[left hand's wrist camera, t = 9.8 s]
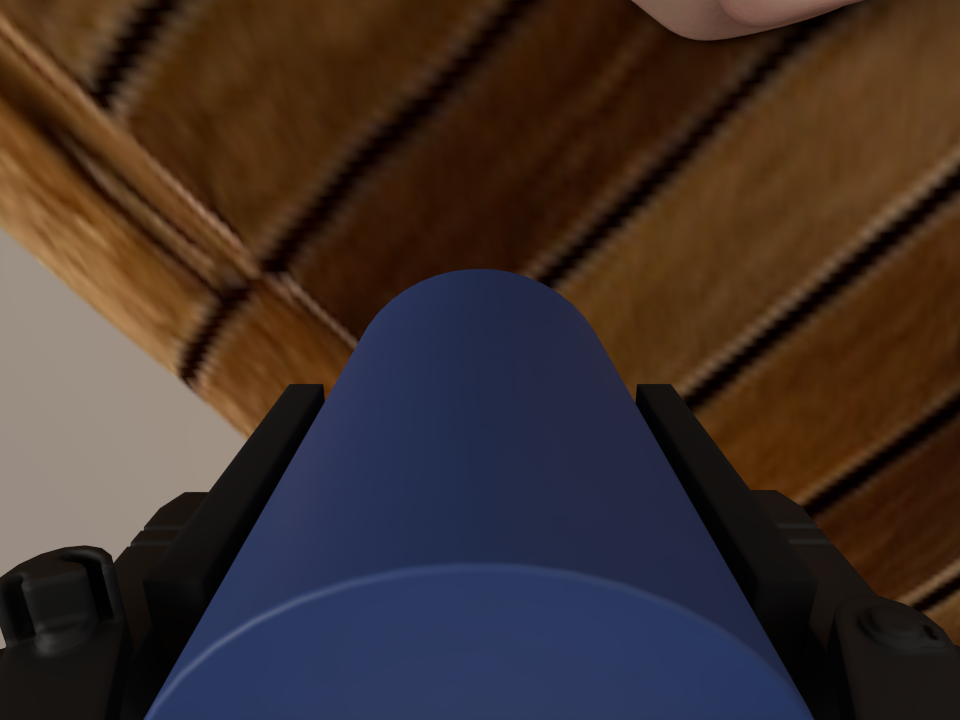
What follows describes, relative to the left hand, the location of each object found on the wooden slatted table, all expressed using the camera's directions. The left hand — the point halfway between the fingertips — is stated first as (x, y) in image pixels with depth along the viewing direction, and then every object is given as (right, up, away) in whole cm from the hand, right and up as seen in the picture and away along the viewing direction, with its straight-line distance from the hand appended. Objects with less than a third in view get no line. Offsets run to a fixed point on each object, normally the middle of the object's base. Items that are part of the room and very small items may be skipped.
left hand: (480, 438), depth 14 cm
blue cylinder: (0, +1, +2) cm, 3 cm away
